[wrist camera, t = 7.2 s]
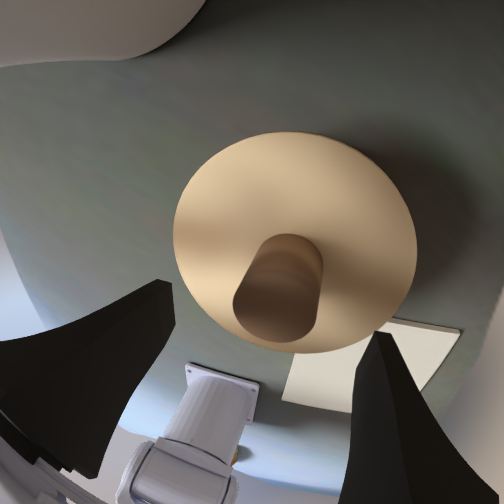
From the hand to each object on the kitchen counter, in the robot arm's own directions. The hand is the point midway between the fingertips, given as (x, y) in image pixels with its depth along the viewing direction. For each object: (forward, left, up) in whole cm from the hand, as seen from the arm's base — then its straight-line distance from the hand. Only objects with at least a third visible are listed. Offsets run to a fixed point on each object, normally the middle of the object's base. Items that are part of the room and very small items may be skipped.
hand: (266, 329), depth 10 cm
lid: (0, 0, -5) cm, 5 cm away
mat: (-13, -8, -10) cm, 18 cm away
